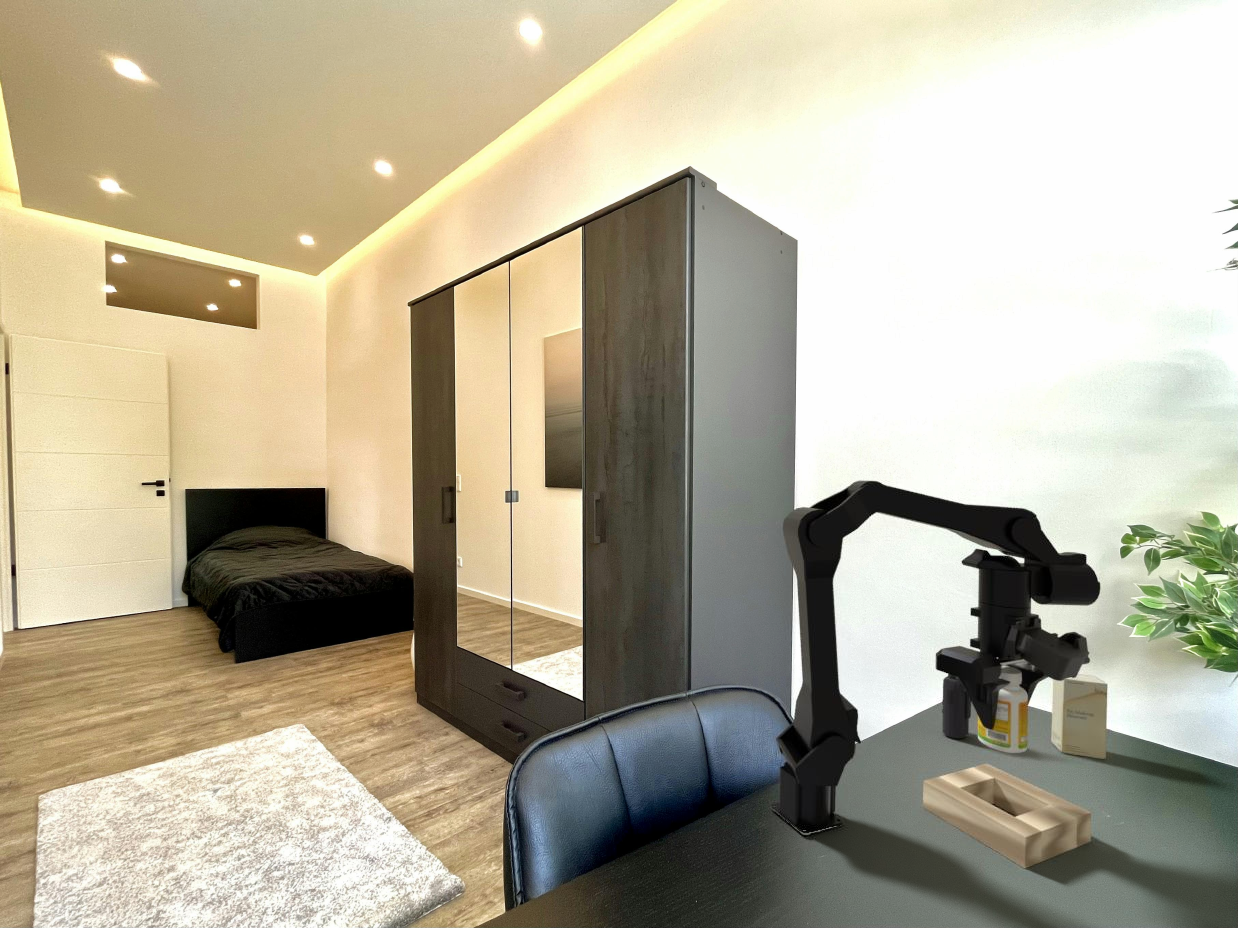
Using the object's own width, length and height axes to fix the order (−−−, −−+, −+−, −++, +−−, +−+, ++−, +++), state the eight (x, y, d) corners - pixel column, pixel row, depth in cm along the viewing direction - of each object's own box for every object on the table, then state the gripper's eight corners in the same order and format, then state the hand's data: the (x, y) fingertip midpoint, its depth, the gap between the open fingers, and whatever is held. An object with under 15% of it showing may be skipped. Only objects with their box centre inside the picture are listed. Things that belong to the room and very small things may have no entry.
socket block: (1025, 868, 66) (1025, 836, 66) (923, 807, 78) (923, 780, 78) (1090, 841, 71) (1091, 812, 71) (986, 788, 83) (986, 763, 83)
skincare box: (1061, 753, 95) (1062, 678, 95) (1050, 741, 99) (1051, 669, 99) (1108, 760, 93) (1109, 683, 93) (1094, 747, 97) (1095, 674, 97)
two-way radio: (951, 727, 104) (953, 642, 104) (979, 736, 100) (980, 648, 100) (938, 735, 100) (940, 648, 100) (967, 745, 97) (968, 654, 97)
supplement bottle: (1011, 736, 77) (1012, 663, 78) (1037, 755, 72) (1038, 676, 72) (969, 733, 78) (970, 660, 78) (991, 752, 72) (992, 674, 73)
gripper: (1025, 624, 64) (1023, 767, 64) (1117, 612, 72) (1116, 739, 72) (933, 603, 74) (931, 726, 74) (1023, 594, 82) (1021, 705, 82)
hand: (1002, 724), depth 75 cm, fingers closed on supplement bottle, 5 cm apart
